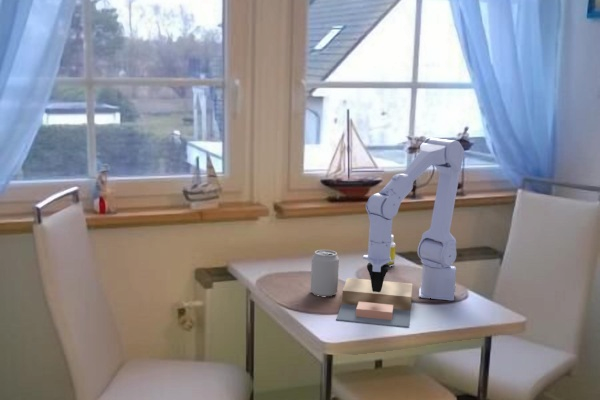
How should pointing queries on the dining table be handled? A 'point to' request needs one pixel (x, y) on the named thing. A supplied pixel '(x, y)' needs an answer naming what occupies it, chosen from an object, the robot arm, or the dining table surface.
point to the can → (324, 273)
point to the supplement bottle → (392, 252)
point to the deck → (377, 293)
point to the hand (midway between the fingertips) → (376, 291)
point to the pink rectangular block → (374, 310)
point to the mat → (398, 318)
